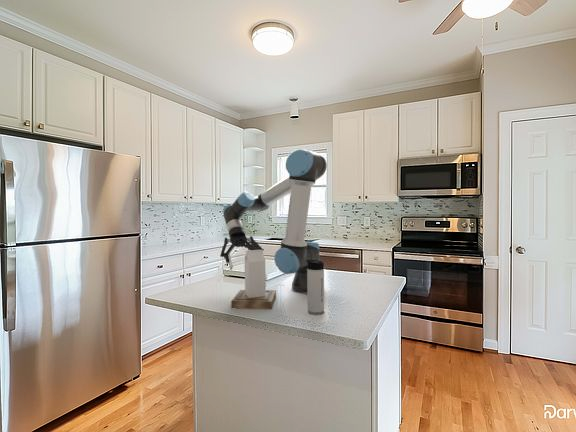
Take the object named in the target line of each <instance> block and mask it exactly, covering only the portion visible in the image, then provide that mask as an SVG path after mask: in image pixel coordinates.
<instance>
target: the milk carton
mask: <svg viewBox="0 0 576 432" xmlns="http://www.w3.org/2000/svg"><path fill="white" fill-rule="evenodd" d="M245 252H246V254H245V256H244V290H245V294H246V295H247V296H248V297H249V298H254V297H263V296H266V290H267V289H266V288H267V285H266V280H267V279H266V258H265V254H264V249H263V250H249V249H248V250H246V251H245Z"/></svg>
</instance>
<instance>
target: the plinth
mask: <svg viewBox="0 0 576 432" xmlns="http://www.w3.org/2000/svg"><path fill="white" fill-rule="evenodd" d="M276 298H277V290H276V289H266V296H263V297H254V298H249V297H248V296H247V295H246V294H245V289H240V290H239V291H238V292H237V293H236V294H235V296H234V297H233V298H232V299H231V301H230V303H231V305H230V306H231V307H230V308H236V309H235V310H237V309H240V310H241V309H242V310H244V309H245V310H249V309H250V310H272V309H273V306H274V303H275V301H276Z"/></svg>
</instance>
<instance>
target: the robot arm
mask: <svg viewBox="0 0 576 432" xmlns="http://www.w3.org/2000/svg"><path fill="white" fill-rule="evenodd" d="M327 166H328V165H327V161H326V158H325V157H324V155H322V154H321V153H319V152H315V151H312V150H310V149H305V148H297V149H295V150H293V151H292V152H290V153H289V154H288V156H287V158H286V160H285V170H286V171H287V173H288V174H289V175H288V176H286V177H285V178H284V179H282V180H280V181H279V182H277V183H275V184H273V186H271V187H270V188H268V189H267V190H265V191H263V192H262V193H260V194H258V195H257V196H254V195H253V194H252V193H251V192H249V191H243V192H242V193H241V194H239V196H238V197H237V198H236V199H235V200H234V202H233V203H228V204H227V205H225V206H224V207H223V209H222V212H223V213H222V214H223V217H224V221H225V226H226V229H227V232H228V236H229V238H228V237H224V240H223V246H222V249H221V251H220V252H221V253H220V257H221V258H222V257H223V258H224V260H225V263H227V264H228V267H229V270H230V271H232V270H233V267H234V265H233V261H232V257H231V253H232V251H233V250H234V249H235V247H236V248H240V247H241V248H243V247H244V248H246V249H248V250H263V251H264V248H262V246H261V245H260V244H258V242H257V240H255V239H254V237H253V236H252V235H250V236H249V237H247V236H246V234H245V233H246V232H245V229H244V226H243V223H242V221H241V220H242V219H241V218H242V217H243V216H244V215H245V214H246V212H258V211H259V212H262V211H267V210H269V208H270V206H271V205H273V204H274V203H276V202H278V201H279V200H281V199H283V198H285V197H286V196H288V195H289V194H290V195H289V203H288V204H289V205H288V213H287V219H286V229H285V237H284V238H283V239H282V240H281V241H280V248H278V249H277V250H276V251H275V253H274V263H275V266H276V267H277V269H278V270H279V272H281V273H283V274H286V275H289V274H294V277H293V279H292V282H291V289H292V290H293V291H294V292H299V293H304V294H305V293H307V267H308V266H307V264H308V262H306V260H318V261H320V245H319V242H317V241H306V240H305V238H306V230H307V221H308V215H309V208H310V201H311V200H310V198H311V191H312V186H313V185H315V184H316V181H317V180H319V179H320V178H322V177H323V176H324V174H326V171H327ZM229 243H231V244H230V246H229V248H228V249H227V245H228V244H229ZM226 249H227V250H226ZM225 251H226V252H225Z"/></svg>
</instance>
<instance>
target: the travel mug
mask: <svg viewBox="0 0 576 432" xmlns="http://www.w3.org/2000/svg"><path fill="white" fill-rule="evenodd" d="M306 262H308V264H307V266H308V267H307V294H306V295H307V313H308V314H310V315H313V316H319V315H322V314H324V313H325V267H324V265H325V263H324V262H323V260H319V261H318V260H306Z"/></svg>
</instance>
